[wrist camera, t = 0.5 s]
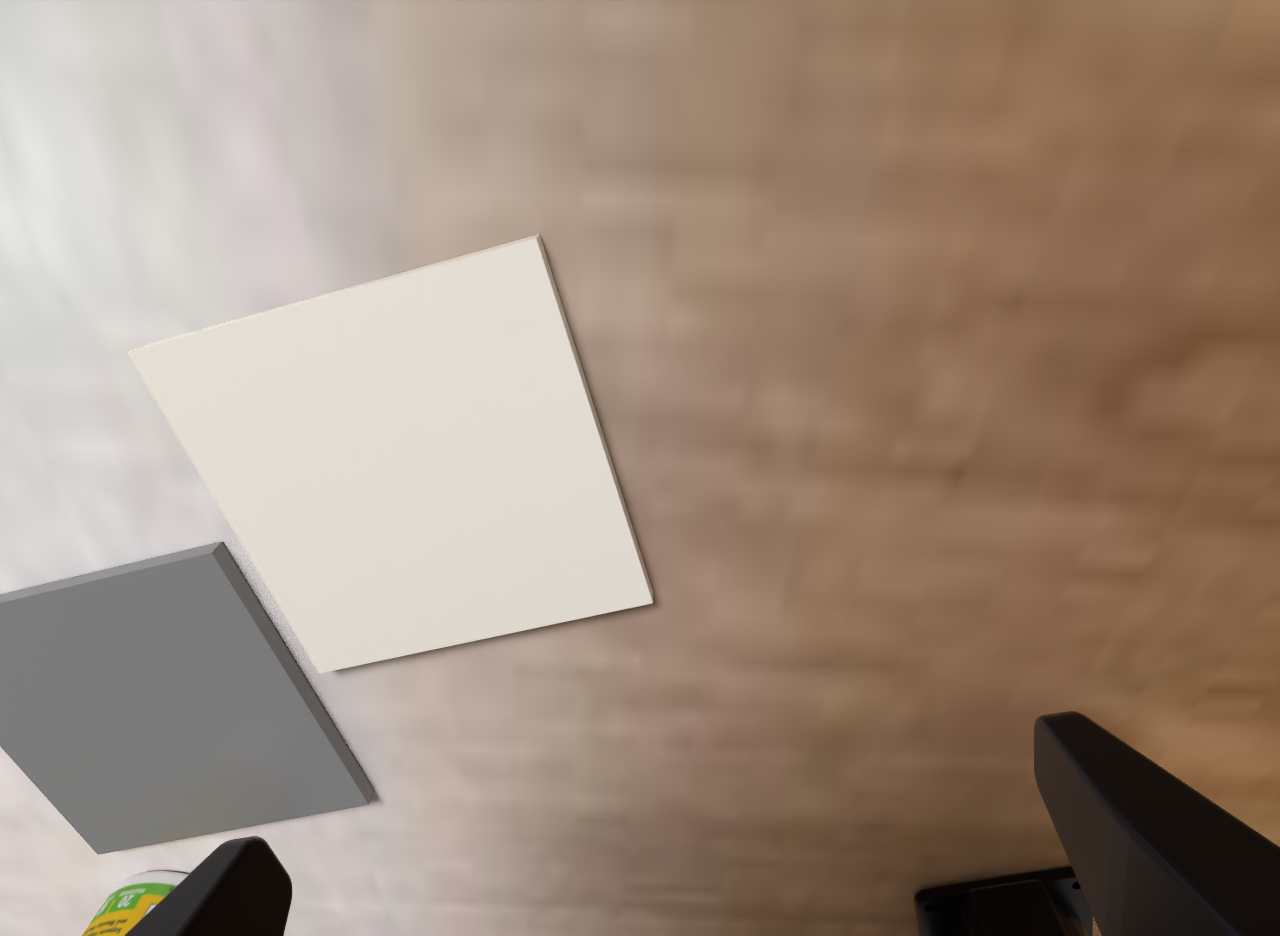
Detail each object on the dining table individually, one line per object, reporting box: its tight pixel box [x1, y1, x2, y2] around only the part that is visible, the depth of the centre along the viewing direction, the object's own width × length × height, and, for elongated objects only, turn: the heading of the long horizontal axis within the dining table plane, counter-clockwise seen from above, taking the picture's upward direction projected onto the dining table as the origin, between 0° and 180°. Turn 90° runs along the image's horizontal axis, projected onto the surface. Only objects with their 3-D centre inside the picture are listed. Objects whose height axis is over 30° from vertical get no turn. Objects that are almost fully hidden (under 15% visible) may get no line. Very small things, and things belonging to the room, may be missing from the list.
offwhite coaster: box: [127, 234, 653, 674], centre depth 21 cm, size 11×11×1 cm
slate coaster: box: [0, 542, 374, 855], centre depth 25 cm, size 11×11×1 cm
